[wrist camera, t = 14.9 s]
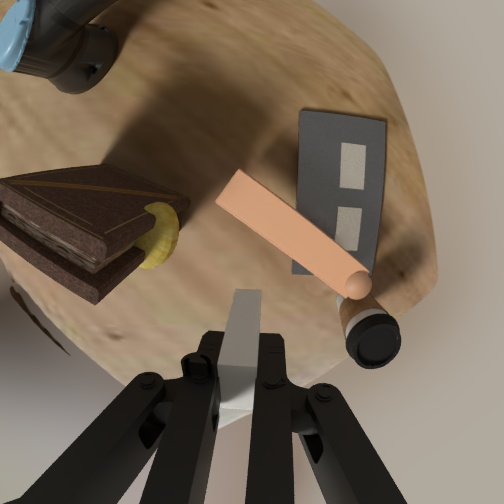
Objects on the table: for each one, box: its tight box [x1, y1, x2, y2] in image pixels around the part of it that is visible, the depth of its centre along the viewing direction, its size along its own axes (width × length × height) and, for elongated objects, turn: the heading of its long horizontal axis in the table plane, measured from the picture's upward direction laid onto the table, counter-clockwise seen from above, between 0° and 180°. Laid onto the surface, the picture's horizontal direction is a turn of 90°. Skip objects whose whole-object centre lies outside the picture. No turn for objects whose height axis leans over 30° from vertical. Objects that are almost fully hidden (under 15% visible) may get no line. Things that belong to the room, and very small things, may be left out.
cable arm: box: [215, 169, 372, 300], centre depth 35 cm, size 24×5×3 cm, turn 54°
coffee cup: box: [336, 293, 401, 369], centre depth 39 cm, size 8×8×15 cm
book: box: [0, 164, 190, 305], centre depth 31 cm, size 22×8×25 cm, turn 66°
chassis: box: [292, 110, 386, 276], centre depth 38 cm, size 26×14×7 cm, turn 179°
